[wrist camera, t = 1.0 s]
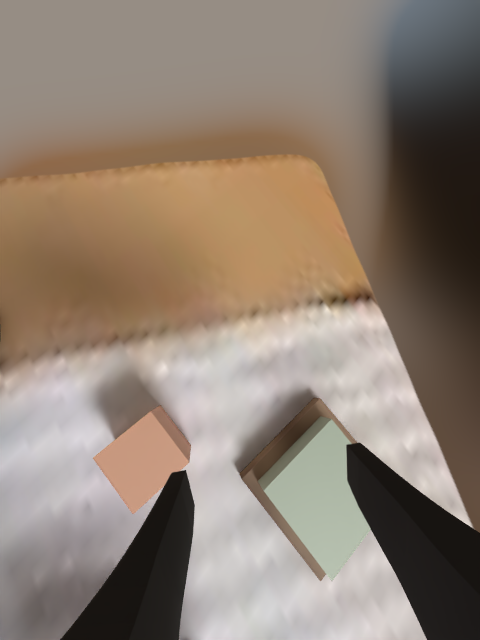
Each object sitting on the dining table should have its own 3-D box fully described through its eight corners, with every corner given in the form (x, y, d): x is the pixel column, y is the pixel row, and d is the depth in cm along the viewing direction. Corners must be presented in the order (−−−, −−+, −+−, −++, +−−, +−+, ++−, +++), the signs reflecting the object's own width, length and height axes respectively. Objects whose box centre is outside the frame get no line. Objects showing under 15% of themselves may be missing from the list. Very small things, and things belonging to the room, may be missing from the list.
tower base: (309, 564, 22) (320, 581, 20) (238, 471, 23) (241, 479, 21) (377, 477, 25) (392, 484, 23) (311, 397, 26) (320, 398, 24)
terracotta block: (147, 484, 21) (133, 514, 16) (116, 441, 21) (92, 457, 16) (190, 445, 22) (189, 462, 17) (160, 405, 23) (150, 410, 18)
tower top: (319, 562, 20) (331, 581, 18) (257, 481, 21) (263, 490, 19) (378, 487, 23) (394, 496, 21) (320, 416, 23) (331, 419, 21)
